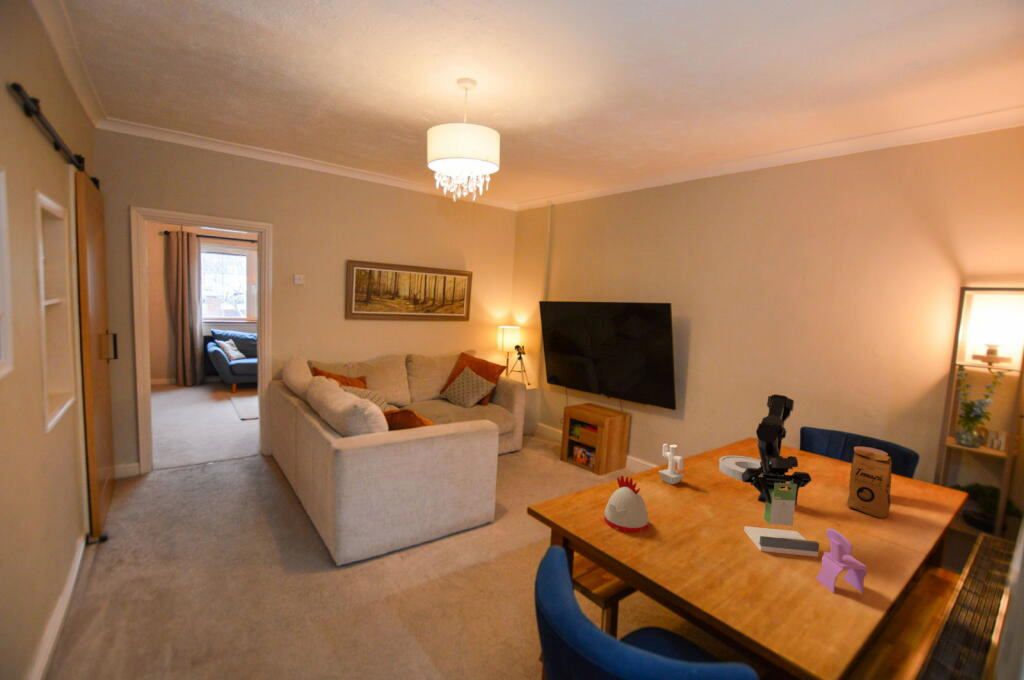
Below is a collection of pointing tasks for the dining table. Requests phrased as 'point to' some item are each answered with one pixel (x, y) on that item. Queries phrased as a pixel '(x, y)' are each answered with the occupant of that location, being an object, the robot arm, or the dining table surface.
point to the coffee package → (870, 483)
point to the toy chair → (840, 563)
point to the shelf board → (782, 541)
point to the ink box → (781, 505)
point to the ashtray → (737, 465)
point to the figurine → (672, 465)
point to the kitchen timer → (626, 508)
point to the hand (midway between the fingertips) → (782, 504)
